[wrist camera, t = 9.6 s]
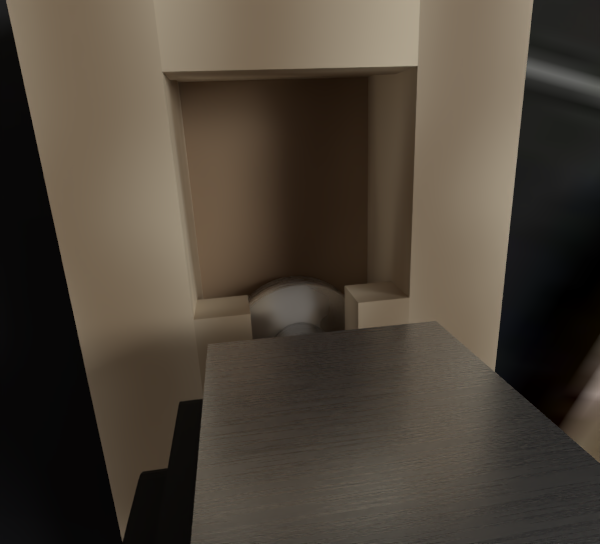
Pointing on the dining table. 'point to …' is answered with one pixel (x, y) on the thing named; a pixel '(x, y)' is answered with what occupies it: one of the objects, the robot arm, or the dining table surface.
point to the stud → (376, 438)
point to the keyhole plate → (266, 177)
